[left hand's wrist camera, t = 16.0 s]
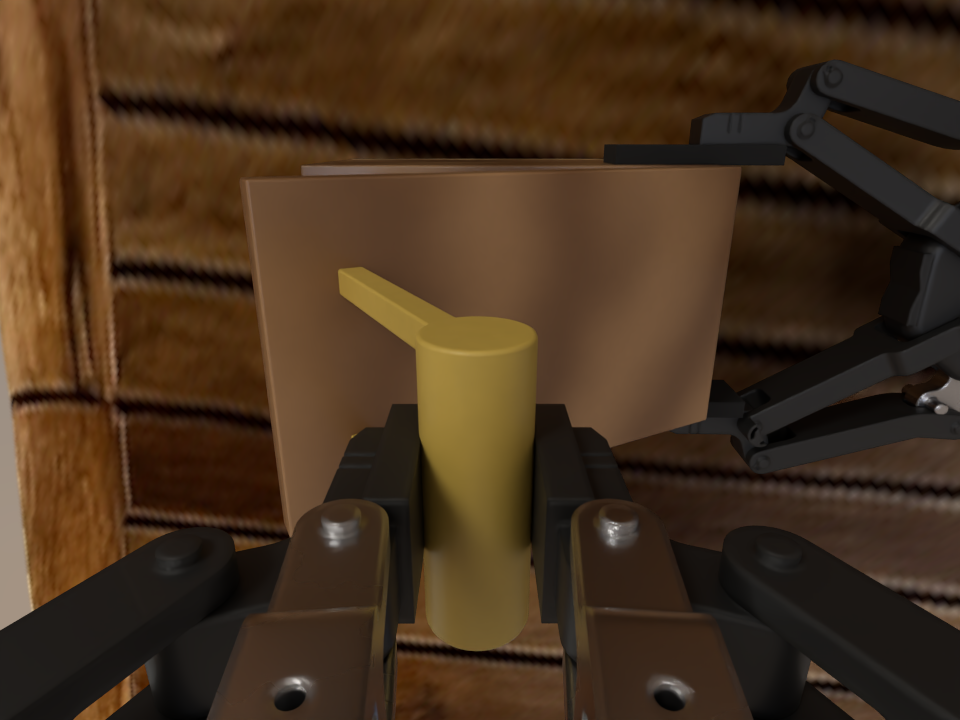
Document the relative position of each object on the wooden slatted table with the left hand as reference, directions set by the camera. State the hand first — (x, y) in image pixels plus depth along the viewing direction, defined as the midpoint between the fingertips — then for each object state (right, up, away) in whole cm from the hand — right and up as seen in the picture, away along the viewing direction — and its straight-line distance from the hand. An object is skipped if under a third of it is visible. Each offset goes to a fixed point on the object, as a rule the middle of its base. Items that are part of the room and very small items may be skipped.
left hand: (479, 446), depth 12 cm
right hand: (+5, +5, +14) cm, 16 cm away
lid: (+1, +3, +8) cm, 9 cm away
